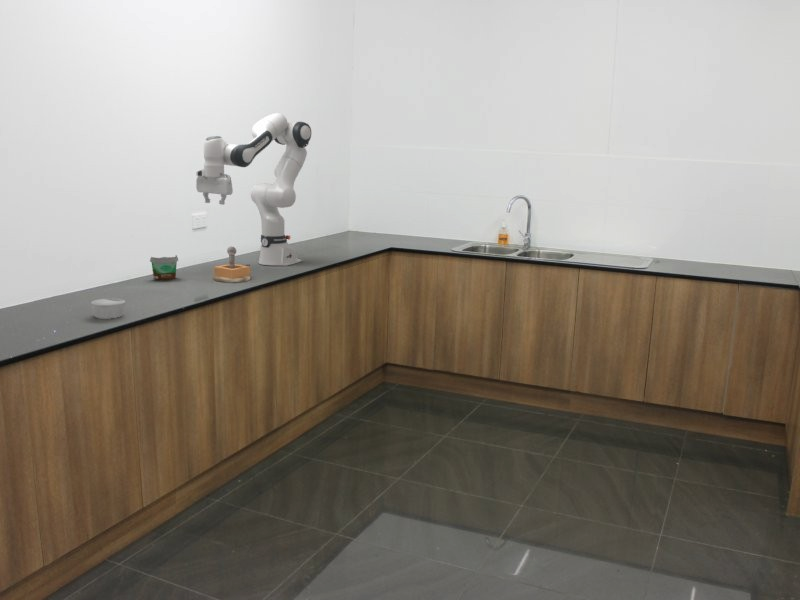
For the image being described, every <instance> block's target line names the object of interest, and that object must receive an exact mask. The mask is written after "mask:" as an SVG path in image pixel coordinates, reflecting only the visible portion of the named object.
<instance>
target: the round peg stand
mask: <svg viewBox="0 0 800 600" xmlns="http://www.w3.org/2000/svg"><path fill="white" fill-rule="evenodd" d="M226 253H227V254H228V261H229V262H228V264H229V268H231V269H233V268H235V264H236V261H235V260H236V259H235V256H236V254H237V248H236V247H234V246H231V245H230V246H229V247H228V248H227V250H226ZM251 279H252V276H251V274H250V276H246V277H240V278H235V279H229V278H224V277H218V276H214V275H213V281H216V282H219V283H232V284H233V282H236V283H244V282H248V281H251Z"/></svg>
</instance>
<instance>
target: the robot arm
mask: <svg viewBox="0 0 800 600" xmlns="http://www.w3.org/2000/svg"><path fill="white" fill-rule="evenodd" d="M251 134H252V137H253V139H252V140H250V142H248V143H245V144H234V143H233V144H232V143H229V142H227V141H226V140H225V139H223V137H222V136H219V135H218V136H217V135H215V136H209V137H207V138H206V139H205V140H204V143H203V158H204V164H203V166H204V167H203V168H201V169H200V170H197V171H196V176H197V177H196V182H195V183H196V184H195V185H196V186H195V187H196V191H197V192H198V193H202V196H203V198H204V203H205V204H210V203H211V199H210V198H209V194H213V195H215V194H216V195H220V197H221V198H220V200H219V201H218V203H219V205H221V206H223V205H224V206H225V201H226V198H227V196H231V195H233V193H234V192H233V191H234V190H233V182H232V177H231V176H230V175H229V174H228V173H225V166H232V167H238V168H239V167H240V168H247V167H248V166H250V165H251V164H252V162H253V161H254V159H255V158H256V157H257V156H258V155H259V154H260V153H262V151H264V150H265V149H266V148H267V147H268V146H269V145H270V144H271V143H272V142H273V141H275V143H276V144H279V145H286V147H285V151H284V152H283V154H282V156H281V157H280V159H279V161H278V162H277V165H276V166H275V168H274V170H273V171H274V172H273V173H274V176H275V177H276V179H275V182H274V183H258V184H255V185H254V186H253V187H252V188H251V190H250V199H251V200H252V202H254V204H255V206H256V207H257V209H258V212H259V215H260V221H261V222H260V223H261V234H260V243H261V245H260V251H259V252H260V253H259V259H258V264H259V265H263V266H264V265H265V266H282V267H283V266H290V265H294V264H298V263H301V262H302V259H300V258H298V255H297V254H298V253H297V250H296V249H295V248H294V247H293V246H292V245H290V243H288V240H291V238H292V237H291V235H287V234H286V235H285V219H284V217H283V216H282V215H281V214H280V212H279V209H278V208H280V209H285V208H289V207H292V206H294V204H295V203H296V199H297V194H296V191H295V190H294V185H295V182H296V179H297V177H298V176H299V173H300V172H301V169H302V168H303V166H304V164H305V161H306V158H307V156H308V151H307V149H306V147H307V146H308V145H309V142H310V141H311V139H312V138H311V137H312V128H311V126H310V125H309V123H307V122H304V121H288V120H287V117H286V116H285V115H284V114H282V113H280V112H273V113H270V114H269V115H267V116H265V117H262V118H261V119H260V120H258V121H257V122H256V123H255V124H253V126H252V128H251Z"/></svg>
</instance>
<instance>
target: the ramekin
mask: <svg viewBox="0 0 800 600" xmlns="http://www.w3.org/2000/svg"><path fill="white" fill-rule="evenodd" d="M90 306H91V308H92V314H93V316H94V317H95V318H96V319H99V320H100V319H101V320H112V319H111V318H114V319H118V318H117V317H119V318H121V317H123V316H124V311H125V306H126V301H125V299H120V298H99V299H95V300H92V301H91V302H90ZM120 316H121V317H120Z"/></svg>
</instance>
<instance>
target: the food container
mask: <svg viewBox="0 0 800 600" xmlns="http://www.w3.org/2000/svg"><path fill="white" fill-rule="evenodd" d="M149 262H150V263H151V268H152V269H151V270H152V276H153V280H154V279H155V281H160V280H161V281H163V282H166V281H174V280H176V279H177V277H176V276H177V263H178V262H179V257H178V255H177V254H175V256H170V257H169V256H163V257H153V256H150V260H149Z"/></svg>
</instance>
